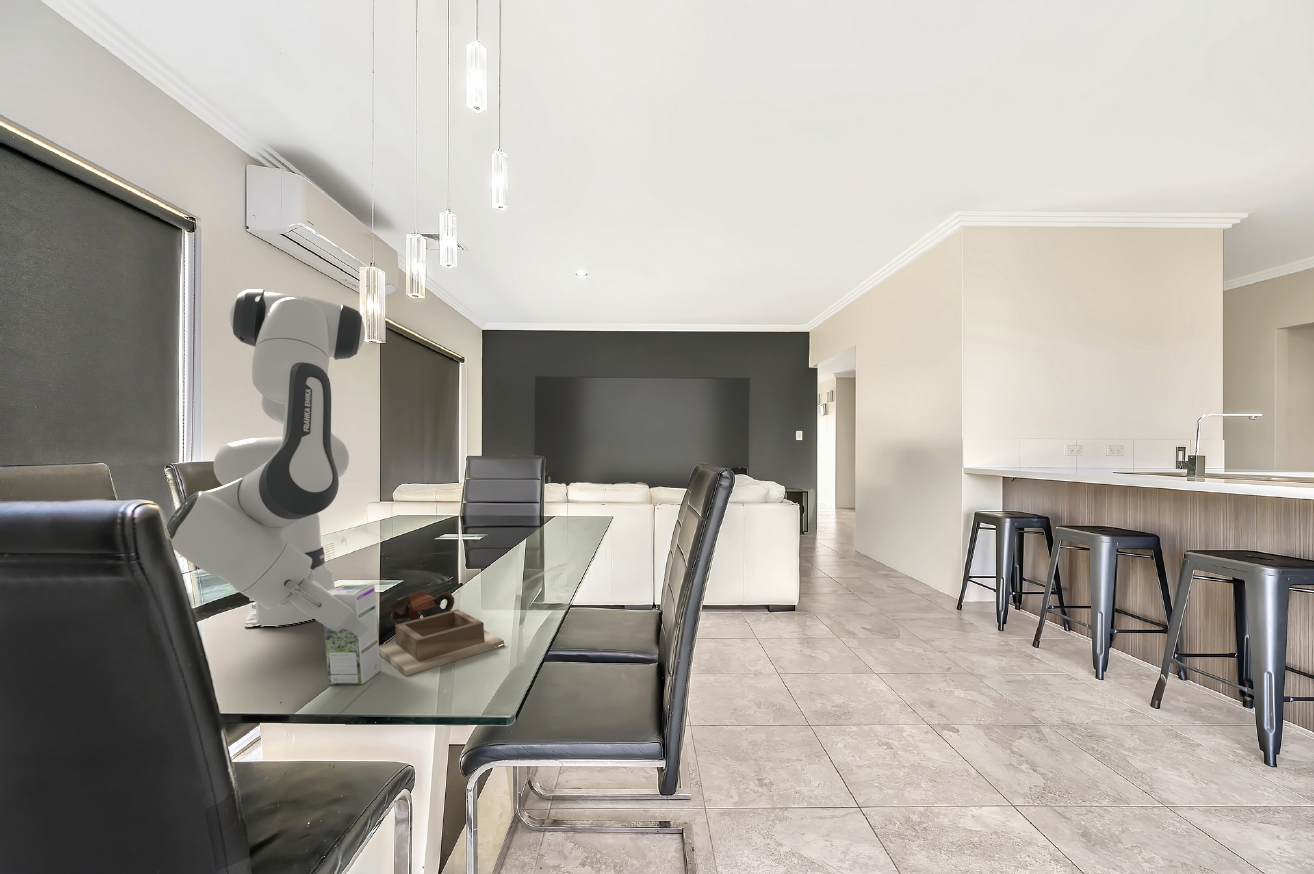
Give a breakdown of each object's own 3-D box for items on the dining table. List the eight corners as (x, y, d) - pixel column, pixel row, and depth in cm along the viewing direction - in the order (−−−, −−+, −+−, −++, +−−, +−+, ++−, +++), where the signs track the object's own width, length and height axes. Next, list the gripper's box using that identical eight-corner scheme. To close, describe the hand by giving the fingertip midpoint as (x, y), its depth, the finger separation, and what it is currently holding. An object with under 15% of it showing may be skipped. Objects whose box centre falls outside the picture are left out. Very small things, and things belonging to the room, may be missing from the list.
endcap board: (377, 651, 109) (375, 626, 109) (469, 626, 120) (467, 603, 120) (405, 676, 97) (403, 648, 97) (504, 645, 108) (502, 620, 108)
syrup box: (382, 670, 100) (376, 582, 100) (361, 686, 94) (355, 592, 94) (349, 670, 101) (343, 583, 100) (326, 686, 95) (320, 593, 94)
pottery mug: (404, 643, 114) (386, 603, 115) (401, 651, 121) (384, 614, 123) (465, 612, 121) (447, 575, 122) (458, 622, 128) (441, 587, 130)
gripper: (311, 569, 84) (390, 621, 91) (284, 550, 100) (352, 595, 107) (276, 609, 82) (359, 660, 88) (253, 583, 97) (326, 628, 104)
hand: (355, 624), depth 98 cm, fingers closed on syrup box, 8 cm apart
